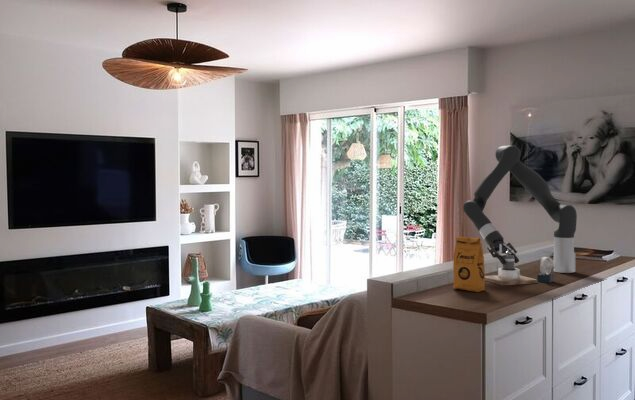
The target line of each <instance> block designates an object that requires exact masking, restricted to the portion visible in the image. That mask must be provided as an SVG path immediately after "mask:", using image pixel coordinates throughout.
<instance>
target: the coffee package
mask: <svg viewBox="0 0 635 400" xmlns="http://www.w3.org/2000/svg"><path fill="white" fill-rule="evenodd" d="M455 240H456V241H455V246H454V251H453V255H452V256H453V257H452V258H453V259H452V260H453V261H452V262H453V263H452V264H453V265H452V266H453V289H458V290H461V291H468V292H475V293H481V292H483V291H485V285H486V284H485V283H486V281H485V276H486V272H485V271H486V270H485V258H484V257H485V256H484V252H483V246H482V242H481V240H482V239H481V238H480V237H466V236H456V238H455Z"/></svg>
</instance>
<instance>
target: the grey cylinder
mask: <svg viewBox="0 0 635 400" xmlns="http://www.w3.org/2000/svg"><path fill="white" fill-rule="evenodd" d="M502 256H503V257H504V259H505V260H506V261H507V262H506V264H505V265H503V264H502V268H503V270H514V268H515V262H514V256H513V255H506V254H502Z"/></svg>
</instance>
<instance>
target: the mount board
mask: <svg viewBox="0 0 635 400" xmlns="http://www.w3.org/2000/svg"><path fill="white" fill-rule="evenodd" d="M485 282H489V283H493V284H497V285H499V286H512V285H513V286H515V285H528V284H538V281H537V278H532V277H527V276H524V275H520V279H516V280H507V279H500V278H498V274H497V275H496V274H495V275H494V274H493V275H485Z"/></svg>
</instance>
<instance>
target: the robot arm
mask: <svg viewBox="0 0 635 400" xmlns="http://www.w3.org/2000/svg"><path fill="white" fill-rule="evenodd" d="M495 159H496V161H497V162H498V163H497V165H496V166H495V167H494V169H493V170H491V172H490V173H488V175H486V177H485V178H483V180H482V181H481V182H480V183H479V185H478V186H477V188H476V189H475V191H474V193H473V195H474V198H473V200H471V199H469V200H467V201H465V202H464V203H463V206H462V207H463V208H462V209H463V211H464V213H465V215H466V216H467V217H468V218H469V219H470V221H471V222H472V223H473V225H474V226H475V228H476V229H477V231H478V232H479V233H480V235H481V237H482V239H483V240H484V241H485V243H486V244H487V247H486V249H487V251H488V252H489V253H490V255H491V257H492V258H494V259H498V261H499V262H500V263H501V265H502V266H503V265H505V264H506V262H507V261H506V260H505V259H504V257H503V255H513V256H514V264H518V263H519V261H520V259H519V258H518V256H517V255H516V254H517V253H518V251H517V250H516V248H515V247H514V246H513V244H512V243H511V242H507V243H505V242H504V240H505V239H504V237H503V235H502V234H501V233H500V231H499V230H498V229H497V227H496V226H495V225H494V224H493V222H492V221H490V219H489V217H488V216H487V215H486V214H485V213H484V212H483V211H484V209H485V207H486V204H487V202H488V200H489V198H490V197H491V196H492V194H493V193H494V191H495V189H496V188H497V187H498V185H499V184H500V183H501V181H502V180H503V179H504V178H505V176H506V175H507V174H508V173H509V172H510V173H511V174H512V176H513V177H514V178H515V179H516V180H517V181H518V182H519V184H521V186H523V188H524V189H525V190H526V191H527V192H528V193H529V194H530V195H531V196H532V197H533V198H534V199H535V201H537V202H538V204H540V205H541V206H542V208H543V209H544V210H545V211H546V212H547V214H548V215H549V217H550V218H551V219H552V220H553V221H554V222H556V223H558V228H557V229H556V230H555V231H554V232H553V261H554V264H553V272H554V273H564V274H571V273H576V255H577V254H576V252H575V233H576V231H577V222H578V221H577V218H578V217H577V216H578V215H577V214H578V213H577V210H576V208H575V207H574V206H573V205H571V204H563V203H560V202H559V201H558V200H557V199H556V198H555V197H554V196H553V195H552V192H551V189H550V187H549V184H548V183H547V182H546V180H545V179H544V178H543V177H542V176H541V175H540V174H539V173H538V172H537V171H536V170H533V169H532V168H531V167H529V166H527V165H525V164H524V163H523V162H522V161H521V160H520V159H521V150H520V149H519V148H518V146H516V145H510V144H509V145H501V146H498V148H497V149H496V150H495Z"/></svg>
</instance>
